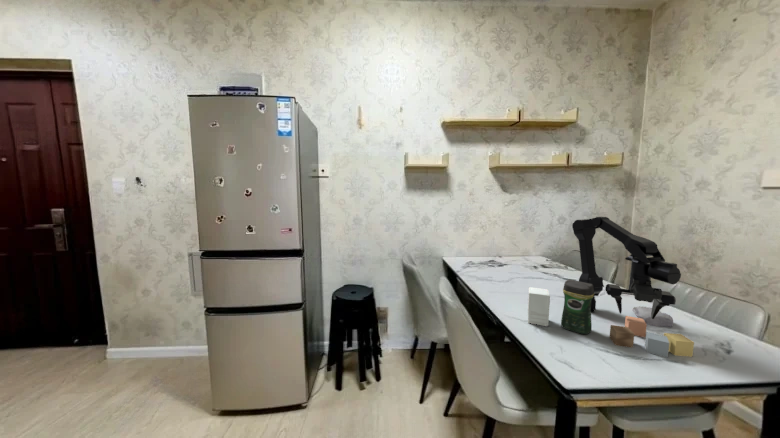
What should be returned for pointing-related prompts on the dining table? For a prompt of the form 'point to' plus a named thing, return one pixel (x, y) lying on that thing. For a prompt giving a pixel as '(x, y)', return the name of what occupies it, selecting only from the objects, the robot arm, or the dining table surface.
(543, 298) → the supplement box
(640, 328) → the terracotta cube
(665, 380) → the dining table surface
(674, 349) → the ochre cube
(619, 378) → the dining table surface
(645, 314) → the stone block
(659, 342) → the slate cube
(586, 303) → the coffee jar
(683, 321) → the dining table surface
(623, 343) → the walnut cube
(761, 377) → the dining table surface
